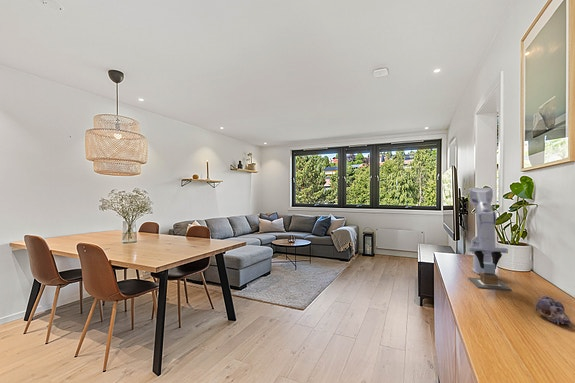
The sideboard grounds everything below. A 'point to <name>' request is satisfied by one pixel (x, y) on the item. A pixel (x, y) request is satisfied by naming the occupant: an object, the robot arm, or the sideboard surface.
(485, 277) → the walnut block
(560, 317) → the skull
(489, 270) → the blue block
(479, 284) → the mat
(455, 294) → the sideboard surface
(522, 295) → the sideboard surface
